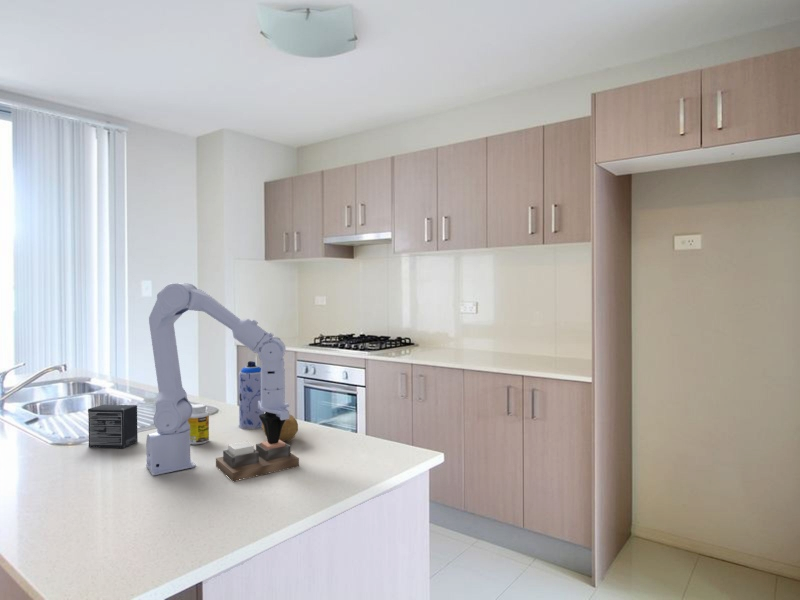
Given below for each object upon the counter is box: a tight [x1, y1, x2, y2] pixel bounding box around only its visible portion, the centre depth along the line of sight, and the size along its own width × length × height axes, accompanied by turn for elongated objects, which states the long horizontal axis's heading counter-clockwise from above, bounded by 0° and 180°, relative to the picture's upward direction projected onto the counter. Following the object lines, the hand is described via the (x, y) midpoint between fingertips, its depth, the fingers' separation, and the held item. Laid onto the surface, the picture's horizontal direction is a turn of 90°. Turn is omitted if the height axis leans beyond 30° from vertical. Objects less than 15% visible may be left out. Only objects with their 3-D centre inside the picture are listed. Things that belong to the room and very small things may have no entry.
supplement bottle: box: [188, 403, 210, 445], centre depth 140 cm, size 6×6×10 cm
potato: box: [261, 413, 299, 442], centre depth 142 cm, size 10×14×8 cm
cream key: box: [227, 440, 255, 457], centre depth 119 cm, size 4×4×2 cm
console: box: [215, 441, 300, 482], centre depth 121 cm, size 16×12×4 cm
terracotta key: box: [260, 440, 287, 450], centre depth 124 cm, size 4×4×2 cm
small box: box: [87, 404, 138, 449], centre depth 138 cm, size 11×6×10 cm, turn 84°
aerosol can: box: [238, 360, 265, 430], centre depth 156 cm, size 8×8×20 cm
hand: (273, 442), depth 124 cm, fingers closed, pressing on terracotta key
